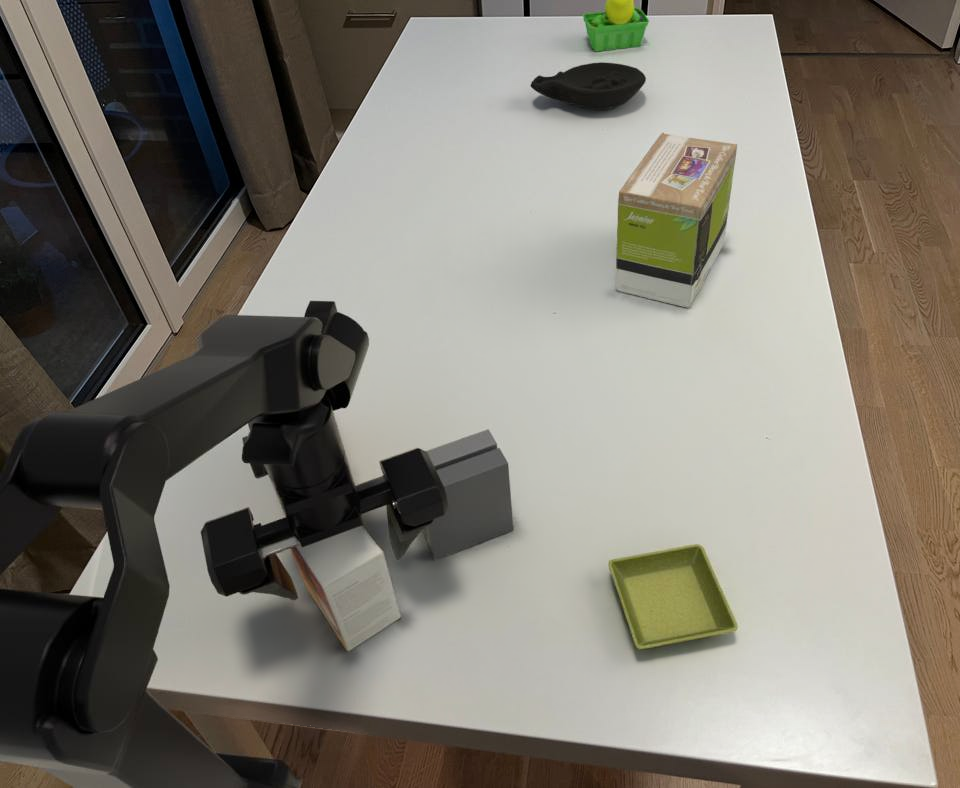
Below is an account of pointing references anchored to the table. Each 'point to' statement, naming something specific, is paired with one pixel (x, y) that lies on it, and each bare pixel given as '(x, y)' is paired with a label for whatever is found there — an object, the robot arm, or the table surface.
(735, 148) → the tea box
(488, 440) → the grey grooved block
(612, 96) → the oil lamp
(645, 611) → the green square tray
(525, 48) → the table surface
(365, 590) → the small box
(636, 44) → the fruit basket
